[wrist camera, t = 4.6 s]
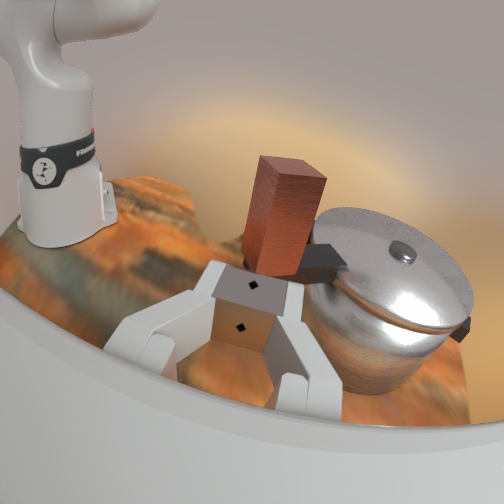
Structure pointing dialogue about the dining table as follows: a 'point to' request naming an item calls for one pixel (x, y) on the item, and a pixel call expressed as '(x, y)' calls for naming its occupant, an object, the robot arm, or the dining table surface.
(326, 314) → the cooker pot
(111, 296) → the dining table surface
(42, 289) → the dining table surface
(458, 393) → the dining table surface
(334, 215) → the lid
